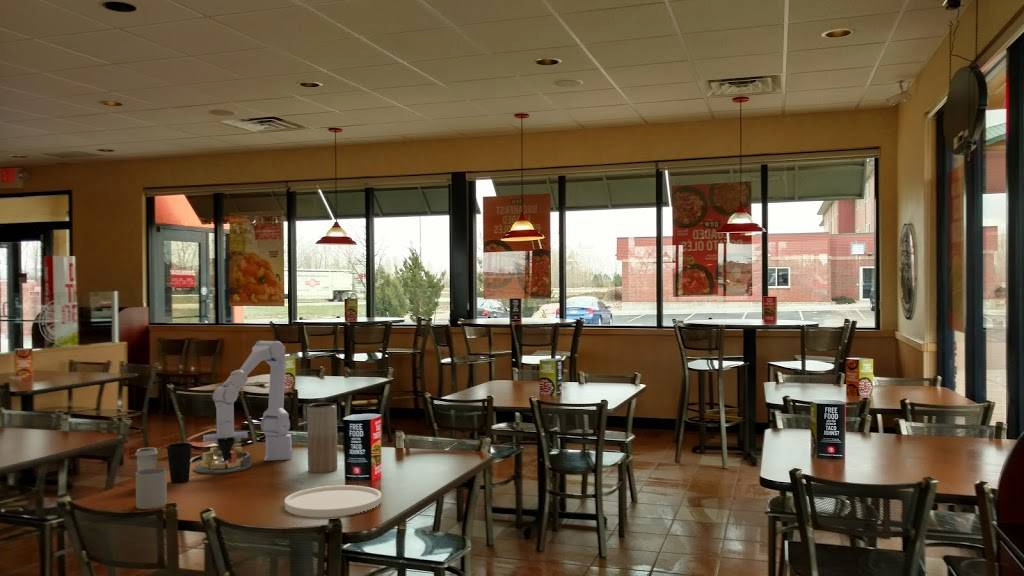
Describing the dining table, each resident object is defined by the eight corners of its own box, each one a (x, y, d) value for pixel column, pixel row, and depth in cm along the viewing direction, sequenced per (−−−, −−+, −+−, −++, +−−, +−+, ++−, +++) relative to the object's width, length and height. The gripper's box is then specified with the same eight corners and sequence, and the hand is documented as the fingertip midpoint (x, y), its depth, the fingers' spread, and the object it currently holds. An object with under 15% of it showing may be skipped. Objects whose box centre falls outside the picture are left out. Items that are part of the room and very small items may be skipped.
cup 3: (186, 484, 274) (185, 447, 274) (163, 484, 274) (162, 447, 274) (195, 478, 281) (195, 442, 281) (173, 478, 282) (172, 442, 282)
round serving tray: (254, 460, 308) (254, 449, 308) (247, 472, 290) (247, 460, 290) (199, 463, 305) (199, 452, 305) (189, 475, 286) (189, 463, 286)
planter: (309, 474, 286) (308, 407, 285) (306, 468, 295) (305, 403, 295) (339, 471, 289) (338, 405, 289) (335, 465, 298) (334, 402, 298)
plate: (292, 523, 228) (292, 514, 228) (278, 499, 254) (278, 491, 254) (393, 511, 239) (392, 502, 239) (369, 489, 265) (369, 481, 265)
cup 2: (173, 502, 250) (172, 469, 250) (152, 509, 243) (152, 475, 242) (150, 500, 253) (149, 467, 253) (129, 507, 245) (129, 473, 245)
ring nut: (207, 460, 304) (207, 446, 304) (249, 459, 305) (248, 445, 305) (195, 469, 290) (195, 454, 290) (238, 468, 291) (238, 453, 291)
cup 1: (131, 486, 271) (130, 449, 271) (151, 482, 276) (150, 446, 276) (143, 490, 266) (142, 452, 266) (162, 485, 272) (162, 448, 272)
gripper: (205, 424, 285) (205, 464, 285) (249, 420, 292) (249, 459, 292) (202, 421, 291) (202, 460, 291) (245, 418, 298) (245, 456, 298)
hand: (225, 460), depth 292 cm, fingers closed
